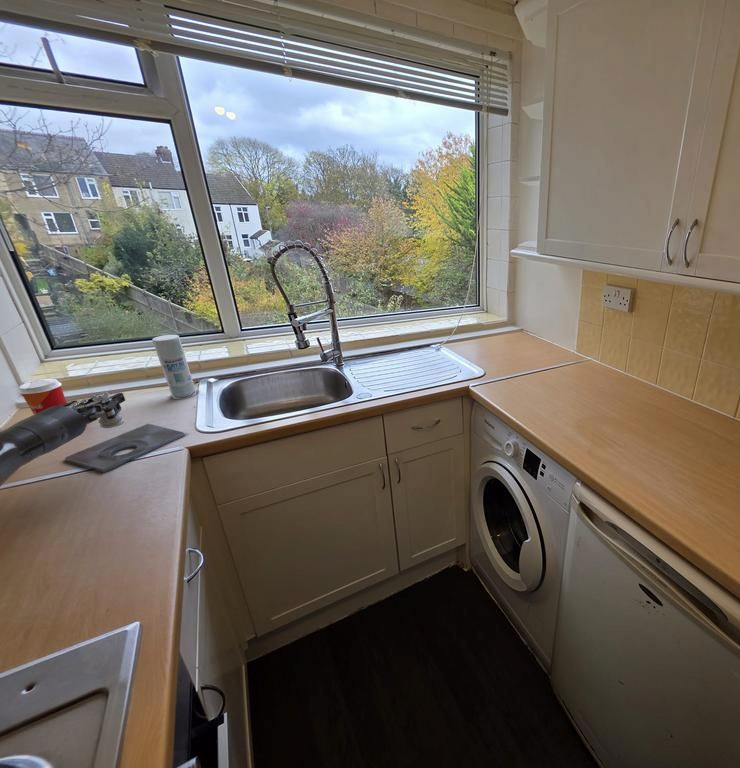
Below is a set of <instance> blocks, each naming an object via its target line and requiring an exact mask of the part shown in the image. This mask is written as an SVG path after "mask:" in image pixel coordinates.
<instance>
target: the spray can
mask: <svg viewBox="0 0 740 768" xmlns="http://www.w3.org/2000/svg"><path fill="white" fill-rule="evenodd" d="M151 340H152V344H153V346H154V350H155V353H156V355H157V357H158V360H159V363H160V367H161V370H162V372H163V375H164V377H165V380H166V383H167V386H168V389H169V392H170V395H171V397H172V399H174V400H183V399H188V398H191V397H193V396H195V395H197V390H196V387H195V383H194V379H193V377H192V374H191V371H190V368H189V364H188V361H187V357H186V354H185V351H184V347H183V344H182V341H181V338H180V335H178V334H164V335H159V336H156V337H153V338H152V339H151Z"/></svg>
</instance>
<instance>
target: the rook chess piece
mask: <svg viewBox="0 0 740 768" xmlns="http://www.w3.org/2000/svg"><path fill="white" fill-rule="evenodd" d="M99 394H100V395H99ZM111 396H112V394H109V392H108V391H105V392H104V391H101V392H99V393H98V392H97V393H95V394H92V397H94V398H93V401H103V400H105V399H107V398H109V397H111ZM106 406H107V405H106V404H104V407H106ZM97 421H98V423H99V427H100V428H102V429H111V428H116V427H119V426H121V425H123V424H124V422H125V421H126V419H124V416H123V415H122V413H120V412H119V413H118V414H117V415H116V417H115V418H113V419H107V417H100V418H98V420H97Z"/></svg>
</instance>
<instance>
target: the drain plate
mask: <svg viewBox="0 0 740 768" xmlns="http://www.w3.org/2000/svg"><path fill="white" fill-rule="evenodd" d="M182 437H185V433H184V431H181V430H180V431H179V430H175V429H172V428H167V427H163V426H159V425H154V424H151V423H146V424H144V425H141V426H139V427H136V428H134V429H131V430H129V431H126V432H124V433H121V434H118V435H117V436H114V437H111V438H110V439H107V440H104V441H102V442H99V443H96V444H95V445H92V446H90V447H87V448H85V449H83V450H80V451H78V452H75V453H73V454H70V455H68V456H65V457H64V459H65V461H66V462H68V463H71V464H75V465H77V466H81V467H85V468H87V469H91V470H94V471H97V472H100V473H104V474H105V473H107V472H109V471H111V470H113V469H117V468H118V467H120V466H122V465H124V464H127V463H128V462H131V461H134V460H135V459H137V458H139V457H142V456H143V455H146V454H148V453H150V452H152V451H154V450H156V449H158V448H162V447H163V446H166V445H167V444H169V443H172V442H174V441H177V440H178V439H180V438H182ZM130 448H131V449H133V448H135V449H133V450H132V451H129V452H126V453H123V454H118V455H114V454H115V453H117V452H119V451H123V450H125V449H130Z"/></svg>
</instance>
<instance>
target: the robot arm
mask: <svg viewBox="0 0 740 768" xmlns="http://www.w3.org/2000/svg"><path fill="white" fill-rule="evenodd" d="M98 394H99V395H100V394H101V393H98ZM93 398H94V397H93V396H92V397H90V398H83V399H82V400H72V401H68V402H67V403H65V404H62V405H59V406H53V407H50V408H47V409H45V410H43V411H41V412H39V413H37V414H33V415H30V416H29V417H28V416H27V417H26V418H24V419H21V420H19V421H17V422H16V423H14V424H12V425H11V426H9V427H8V428H6V429H4V430H1V431H0V488H1V487H2V486H3V485H4V484H5V483H6V482H7V481H8V480H9V479H10V478H11V477H12V476H13V475H14V474H15V473H16V472H17V471H19V469H20V468H21V467H24V466H26V465H27V464H29V463H30V462H32V461H34V460H36V459H38V458H40V457H42V456H44V455H46V454H49V453H51V452H53V451H55V450H57V449H58V448H61V447H62V446H63V445H66V444H67V443H69V442H71V441H72V440H74V439H76V438H78V437H80V436H81V435H82V434H83V433H84V432H85V430H86V427H87V426H88V425H89V424H91V423H93V422H96V421H98V420H99V419H100V417H107V419H113V418H115V417H116V415H117V414H118V413H119V414H120V412H121V410H122V407H121V404H122V403H124V402H126V397H125V395H124V393H123V392H117V393H116V394H113V395H111V397H109V398H107V399H105V400H103V401H93ZM104 404H106V405H107V406H106V407H104Z"/></svg>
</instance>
